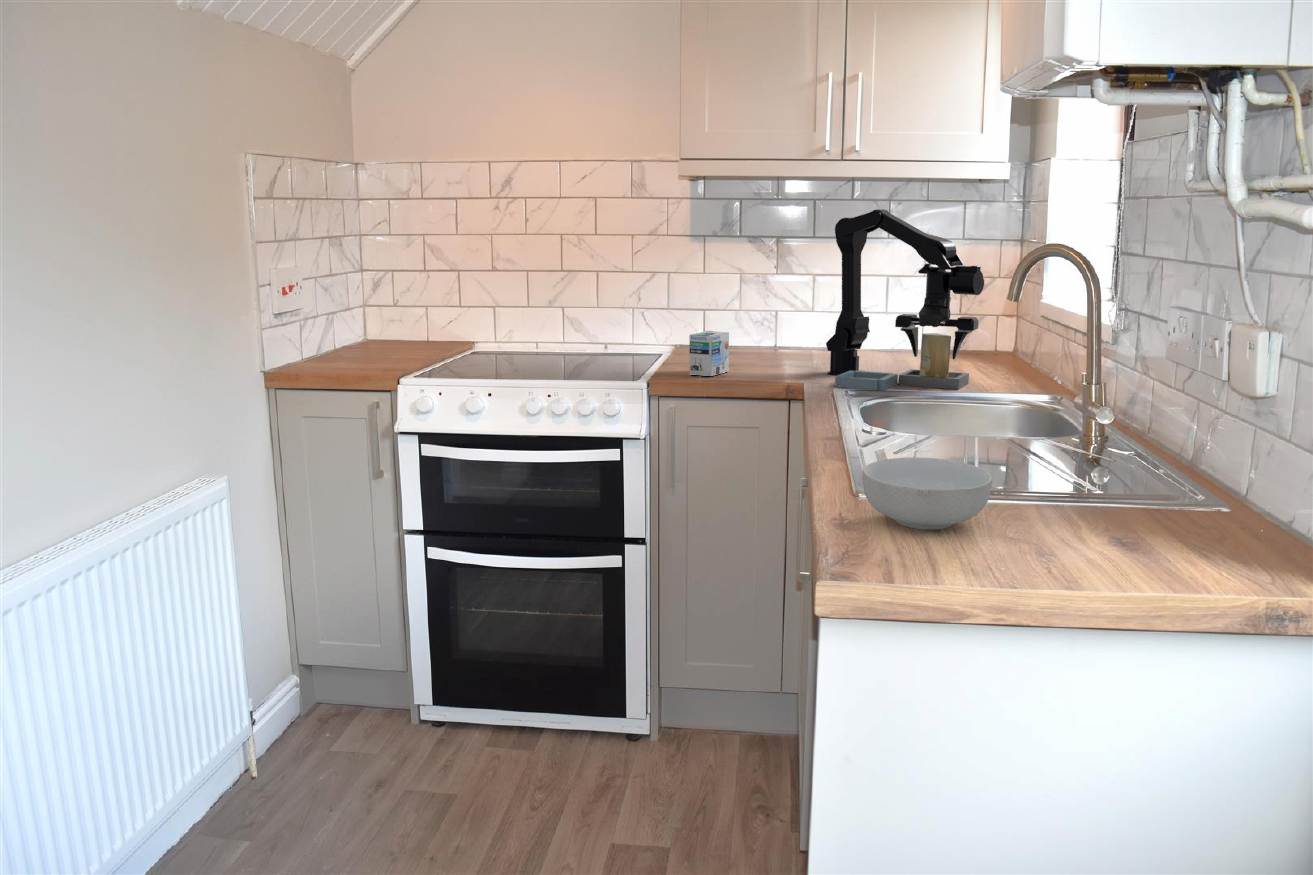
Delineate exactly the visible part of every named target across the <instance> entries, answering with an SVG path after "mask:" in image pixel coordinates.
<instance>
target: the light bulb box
mask: <svg viewBox="0 0 1313 875" xmlns="http://www.w3.org/2000/svg"><path fill="white" fill-rule="evenodd" d="M729 352H730V333H729V332H727V331H715V330H714V331H713V330H704V331H701V332H698V333H692V334H689V375H690V374H696V375H704V376H713V375H716V374H719V373H725V372H727V371H730V370H729V367H730V366H729V364H730V363H729V360H730V356H729V355H730V354H729ZM725 374H726V373H725Z"/></svg>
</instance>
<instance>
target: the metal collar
mask: <svg viewBox="0 0 1313 875" xmlns="http://www.w3.org/2000/svg"><path fill="white" fill-rule="evenodd" d="M969 381H970V373H969V372H956V371H949V373H948V377H933V376H920V369H916V368H915V369H912V368H910V369H909V370H906V371H904V372H901V373H900V374H898V383H897V385H898V386H904V385H905V386H907V387H918V388H919V387H920V388H921V387H922V388H932V389H934V388H935V389H943V390H944V389H947V390H958V391H959V390H960V389H962V388H963V387H965V386H966V385H968V384H969Z"/></svg>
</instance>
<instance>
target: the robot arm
mask: <svg viewBox="0 0 1313 875" xmlns="http://www.w3.org/2000/svg"><path fill="white" fill-rule="evenodd" d="M878 229H880V230H883V231H884V232H886V233H888V234H889V235H891V236H892V237H894V238H896V239H897V240H899V241H902V242H903V243H905V244H907V245H908V246H910V247H911V248H913V249H914V250H915V251H916V253H917V254H918V256H920V257H921V259H923V260H924V261H925V262H926V263H925V264H924V265H923V266H922V267H921V268H920V269H919V270H917V271H918V272H917V273H918V274H923V275H924V274H925V275H926V286H925V297H924V303H923V306H922V307H921V309H920V310H919V312H918V314H916V313H915V314H911V313H902V314H899V315H897V316H896V318H895V322H894V323H895V325H894V326H895V328H900V331H902V332H904V333H905V334H906V336H907V338H908V340H909V343H910V346H911V349H912V353H913V356H914V358H916V357H917V358H918V354H919V353H918V352H919V326H920V327H932V328H938V327H951V328H957V330H955V331H954V341H953V348H952V360H956V359H957V358H956V357H957V355H958V353H959V350H960V348H961V346H962V344H963V342H964V340H965V339H966V337H967V335H968V334H971V333H972V332H974V331H975V330H978V329H979V319H978V318H977V316H960V317H959V316H958V317H957V318H951V308H950V307H951V300H952V298H951V291H952V293H953V294H955V295H969V296H979V295H981V294H982V292H983V289H984V287H985V286H984V285H985V279H984V274H983V272H982V270H981V269H982V266H981V265H965V263H964V262H963V260H962V259H961V257H960V256H959V254H958V252H957V247H956V244H955V243H954V241H952V240H950V239H947V238H943V237H941V236H938V235H934V234H929V233H925V231H922V230H921V229H918V227H915V226H914V225H911V224H910V223H908V222H907V221H904V220H903V219H901V218H899V217H898V216H896V215H894V214H892V213H890V211H889V210H888V209H885V208H883V209H874V210H871V211H869V212H867V213H864V214H860V215H857V216H853V217H843V218H841V219H839V220H838V222H836V223H835V227H834V235H835V242H836V245H837V247H838V249H839V251H840V254H841V311H840V313H839V316H838V318H837V320H836V324H835V331H834V334H833V335H832V336H831V337H830V338H829V339H828V340H827V341H826V343H825V346H826V349H827V351H828V352H830V358H829V359H830V362H829V366H830V367H829V371H828V372H827V374H828V375H835V376H837V375H840V374H842V373H845V372H847V371H860V356H859V355H858V350H861V348H862V346H863V343H864V342H865V341H866V340H867V338H868V333H870V331H871V330H870V316H865V315H864V313H863V311H862V252H863V250H864V248H865V245H866V243H867V239H868V234H870V233H871V232H874V231H876V230H878ZM947 270H949V271H947Z"/></svg>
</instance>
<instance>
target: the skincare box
mask: <svg viewBox="0 0 1313 875" xmlns="http://www.w3.org/2000/svg"><path fill="white" fill-rule="evenodd" d="M921 334H922V335H921V350H920V363H919V364H920V366H919V370H920V376H933V377H948V373H949V372H950V371H949V369H950V358H951V344H952V343H951V342H952V336H951V335H947V334H943V333H938V332H929V333H928V332H926V333H921Z"/></svg>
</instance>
